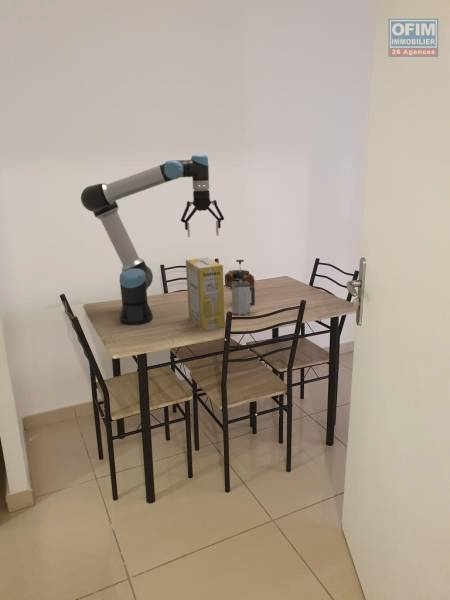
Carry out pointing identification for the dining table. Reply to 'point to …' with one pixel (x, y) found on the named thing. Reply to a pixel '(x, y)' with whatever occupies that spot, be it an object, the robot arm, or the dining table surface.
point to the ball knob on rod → (240, 275)
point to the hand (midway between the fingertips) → (203, 236)
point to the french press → (237, 270)
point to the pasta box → (205, 293)
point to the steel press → (242, 298)
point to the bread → (229, 279)
